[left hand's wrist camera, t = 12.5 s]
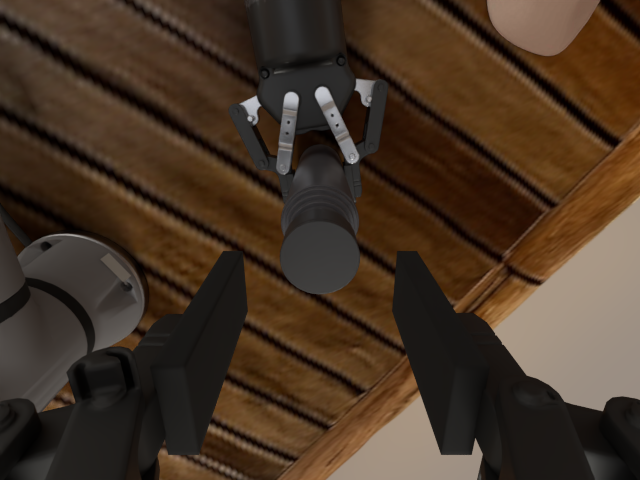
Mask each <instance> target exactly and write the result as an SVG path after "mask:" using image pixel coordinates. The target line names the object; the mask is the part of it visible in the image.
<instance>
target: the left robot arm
mask: <svg viewBox="0 0 640 480" xmlns="http://www.w3.org/2000/svg"><path fill="white" fill-rule="evenodd" d="M4 223H5V224H6V225H7V226H8V228H9V229H10V230H11V231H12V232H13V233H14V235H15V236H16V237H17V238H18V239H19V240H20V241H21V243H22V244H23V245H24V246H25V247H26V248H25V249H24V250H23V251H22V252H21V253H20V254H19V255H18V256H16V253H15V251H14V248H13V246H12V243H11V241H10V238H9V236H8V233H7V230H6V228H5V225H4ZM148 302H149V291H148V285H147V282H146V279H145V276H144V274H143V272H142V270H141V269H140V267H139V266H138V264H137V263H136V261H135V260H134V259H133V258H132V257H131V256H130V255H129V254H128V253H127V252H126V251H125V250H124V249H123V248H121V247H120V246H119V245H117V244H116V243H114V242H112V241H111V240H109V239H107V238H105V237H102V236H100V235H97V234H94V233H91V232H86V231H80V230H63V231H58V232H54V233H51V234H49V235H46V236H44V237H42V238H40V239H38V240H36V241H34V242H32V240H31V239H30V238H29V237H28V236H27V235H26V234H25V232H24V231H23V230H22V229H21V228H20V227H19V225H18V224H17V223H16V222H15V221H14V220H13V218H12V217H11V216H10V215H9V214H8V212H7V211H6V210H5V209H4V207H3V206H2V205H1V203H0V480H159V473H160V467H159V461H158V456H157V455H158V453H159V451H160V448H161V446H162V444H163V442H164V440H165V441H166V446H167V451H168V455H199V453H200V450H201V447H202V444H203V441H204V438H205V435H206V432H207V429H208V426H209V423H210V420H211V417H212V414H213V412H214V409H215V406H216V403H217V400H218V397H219V394H220V391H221V388H222V385H223V382H224V379H225V376H226V373H227V370H228V368H229V365H230V362H231V359H232V356H233V353H234V350H235V347H236V344H237V341H238V338H239V335H240V332H241V329H242V327H243V324H244V321H245V318H246V315H247V312H248V309H247V297H246V285H245V273H244V261H243V251H223V252H222V254H221V256H220V257H219V259H218V260H217V262H216V263H215V265H214V267H213V268H212V270H211V271H210V273H209V274H208V276H207V278H206V279H205V281H204V282H203V284H202V285H201V287H200V289H199V290H198V292H197V293H196V295H195V296H194V298H193V300H192V301H191V303H190V304H189V306H188V307H187V309H186V311H185V312H184V314H166V315H165V316H164V317H162V318H161V319H159V320H158V321H156V322H155V323H154V324H153V325H152V326H151V328H150V329H149V330H148V332H147V333H146V334H145V337H143V338H142V340H141V341H140V342H139V345H138V346H136V348H135V349H134V350H133V352H132V351H131V350H130V349H129V348H124V347H120V346H119V347H109V346H111V345H113V344H115V343H117V342H119V341H120V340H122V339H123V338H125V337H126V336H128V335H129V334H130V333H131V332H132V331H133V330H134V329H135V328H136V326H137V325H138V324H139V323H140V321H141V320H142V319H143V317H144V315H145V313H146V311H147V307H148ZM392 312H393V315H394V318H395V321H396V324H397V327H398V329H399V332H400V335H401V338H402V341H403V344H404V347H405V350H406V353H407V356H408V359H409V362H410V365H411V368H412V370H413V373H414V376H415V379H416V382H417V385H418V388H419V391H420V394H421V397H422V400H423V403H424V406H425V409H426V411H427V414H428V417H429V420H430V423H431V426H432V429H433V432H434V435H435V438H436V441H437V444H438V447H439V450H440V453H441V455H472V451H473V446H474V441H475V438H476V440H477V442H478V444H479V447H480V449H481V451H482V453H483V456H482V461H481V465H480V470H479V474H478V479H477V480H640V400H638V399H635V398H629V397H613V398H611V399H610V400H609V401H607V402H606V405H605V408H604V410H603V411H598V410H594V409H590V408H586V407H581V406H577V405H573V404H569V403H566V402H564V401H563V399H562V398H561V396H560V395H559V393H558V392H557V391H555V390H554V389H553V388H552V387H551V386H549V385H548V384H546V383H544V382H542V381H540V380H538V379H536V378H533V377H529V376H526V374H525V373H524V371H523V370H522V369H521V367H520V366H519V365H518V363H517V362H516V361H515V359H514V358H513V357H512V356H511V354H510V353H509V351H508V350H507V349H506V347H505V346H504V345H502V342H501V341H500V339H499V338H498V337H497V336H495V333H494V331H493V330H492V329H491V327H490V326H489V325H488V323H487V322H485V321H484V320H483V319H481V318H480V317H478V316H477V315H475V314H474V313H456V312H455V311H454V309H453V307H452V306H451V304H450V303H449V301H448V300H447V298H446V296H445V295H444V293H443V292H442V290H441V289H440V287H439V285H438V284H437V282H436V281H435V279H434V278H433V276H432V274H431V273H430V271H429V270H428V268H427V267H426V265H425V263H424V262H423V260H422V259H421V257H420V256H419V254H418V252H417V251H397V261H396V273H395V285H394V297H393V309H392ZM68 381H69V383H70V386H71V389H72V392H73V395H74V398H75V402H76V403H75V404H73V405H69V406H65V407H61V408H57V409H52V410H48V411H44V412H42V411H43V410H44V409H45V407H46V406H47V405H48V404H49V403H50V402H51V400H52V399H53V398H54V397H55V396H56V395H57V393H58V392H59V391H60V390H61V389H62V388H63V387H64V385H65V384H66V383H67V382H68Z"/></svg>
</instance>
